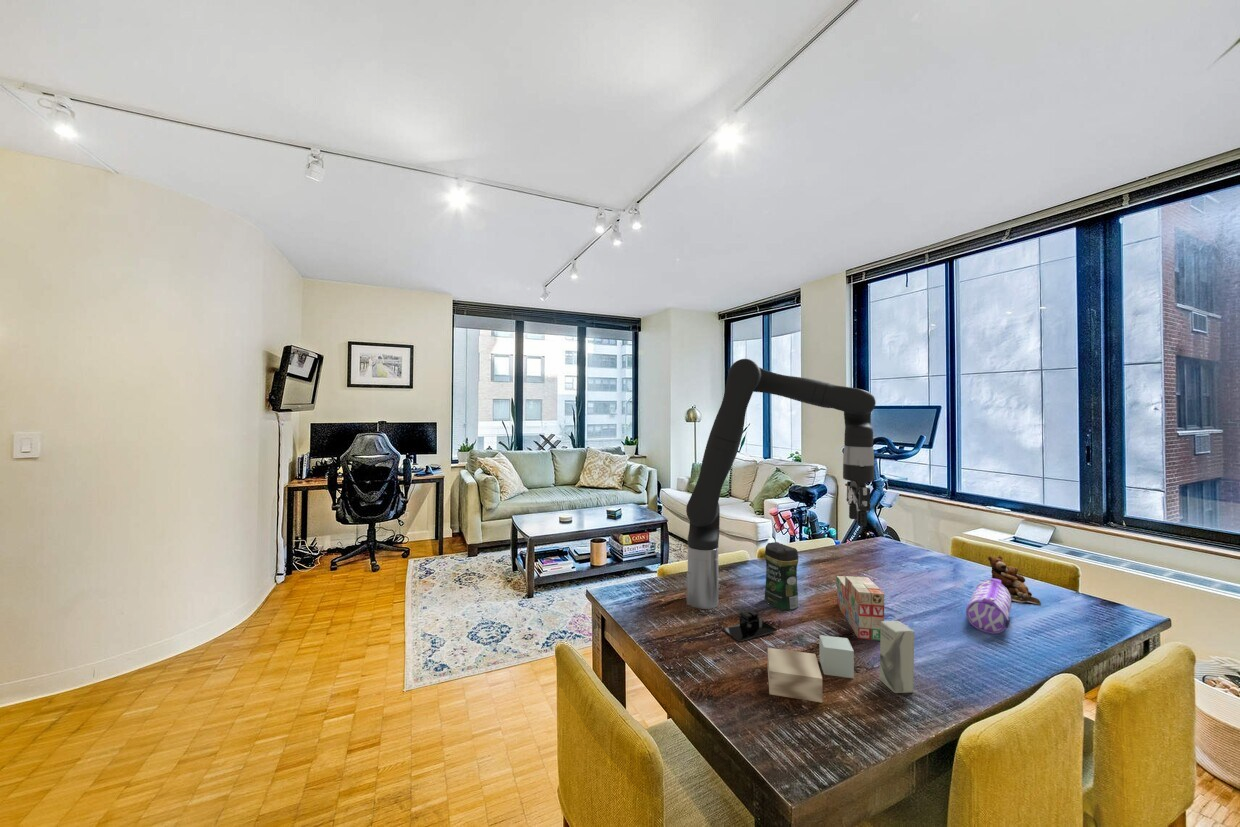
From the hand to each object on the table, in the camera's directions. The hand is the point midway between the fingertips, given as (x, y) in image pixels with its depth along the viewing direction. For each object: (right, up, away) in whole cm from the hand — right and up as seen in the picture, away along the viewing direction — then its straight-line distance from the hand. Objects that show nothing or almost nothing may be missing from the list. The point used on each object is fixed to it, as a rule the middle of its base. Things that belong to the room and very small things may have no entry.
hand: (857, 522), depth 124 cm
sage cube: (-16, -28, -22) cm, 39 cm away
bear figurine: (+61, -30, +22) cm, 71 cm away
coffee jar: (-16, -29, +13) cm, 36 cm away
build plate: (-30, -30, -4) cm, 42 cm away
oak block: (-28, -28, -28) cm, 49 cm away
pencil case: (+39, -29, +4) cm, 49 cm away
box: (-7, -28, -29) cm, 41 cm away
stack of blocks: (+2, -29, +3) cm, 29 cm away
